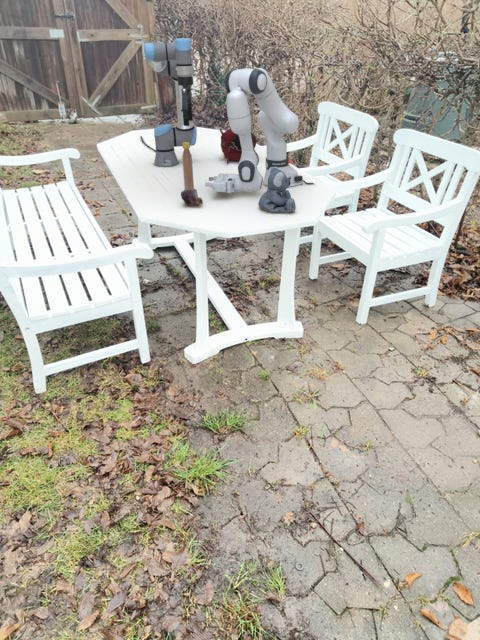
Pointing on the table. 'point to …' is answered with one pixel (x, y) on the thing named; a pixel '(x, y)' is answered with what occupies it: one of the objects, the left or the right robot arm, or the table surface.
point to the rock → (191, 197)
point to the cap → (186, 145)
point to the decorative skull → (232, 145)
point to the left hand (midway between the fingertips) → (188, 123)
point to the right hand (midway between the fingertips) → (207, 181)
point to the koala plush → (277, 193)
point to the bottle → (187, 169)
